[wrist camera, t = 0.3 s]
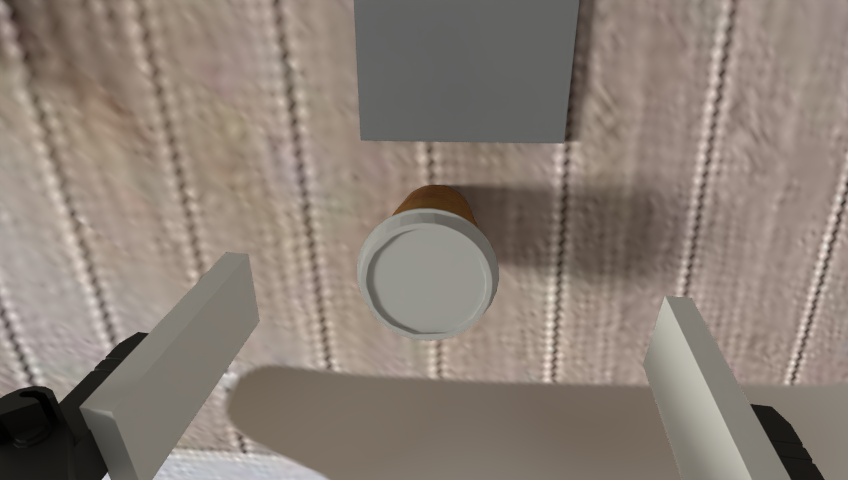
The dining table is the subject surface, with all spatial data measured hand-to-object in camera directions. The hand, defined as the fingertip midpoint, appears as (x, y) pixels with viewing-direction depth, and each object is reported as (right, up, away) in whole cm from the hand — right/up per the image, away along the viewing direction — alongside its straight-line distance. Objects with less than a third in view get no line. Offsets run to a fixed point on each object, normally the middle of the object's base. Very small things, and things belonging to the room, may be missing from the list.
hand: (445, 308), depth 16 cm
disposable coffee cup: (0, +4, +28) cm, 28 cm away
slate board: (+2, +18, +21) cm, 28 cm away
